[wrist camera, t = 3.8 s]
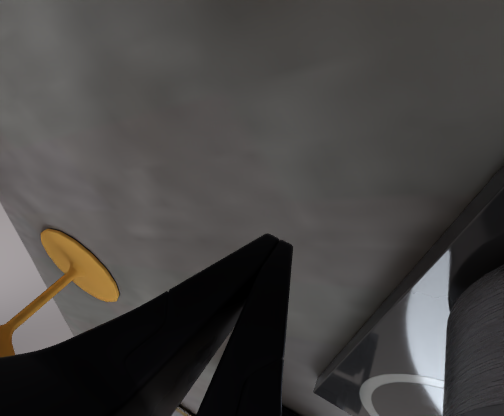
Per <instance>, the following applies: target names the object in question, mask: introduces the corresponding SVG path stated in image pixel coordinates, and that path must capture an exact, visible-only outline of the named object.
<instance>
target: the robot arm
mask: <svg viewBox="0 0 504 416" xmlns="http://www.w3.org/2000/svg"><path fill="white" fill-rule="evenodd" d="M292 253H293V246H292V245H291V244H289V243H287V242H285V241H283V240H280V241H279V239H278V238H277V237H275V236H273V235H271V234H264V235H263V236H261V237H259V238H257V239H256V240H254V241H252V242H251V243H249V244H247V245H245V246H244V247H242V248H240V249H239V250H237V251H235V252H233V253H232V254H230V255H228V256H227V257H225V258H223V259H221V260H220V261H218V262H216V263H215V264H213V265H211V266H209V267H208V268H206V269H204V270H203V271H201V272H199V273H197V274H196V275H194V276H192V277H190V278H189V279H187V280H185V281H184V282H182V283H180V284H178V285H177V286H175V287H173V288H172V289H170V290H169V293H168V292H167V291H166V292H164V293H163V294H161V295H159V296H158V297H156V298H154V299H152V300H151V301H149V302H147V303H145V304H143V305H141V306H140V307H138V308H136V309H134V310H132V311H130V312H127V313H125V314H123V315H121V316H119V317H117V318H115V319H113V320H110V321H108V322H106V323H104V324H102V325H99V326H97V327H95V328H93V329H90V330H88V331H86V332H84V333H82V334H79V335H77V336H75V337H73V338H71V339H69V340H66V341H64V342H61V343H59V344H57V345H54V346H51V347H48V348H45V349H42V350H38V351H34V352H30V353H24V354H18V355H12V356H6V357H0V416H172V414H173V413H174V411H175V410H176V409H177V407H178V406H179V404H180V403H181V401H182V400H183V399H184V397H185V396H186V394H187V393H188V391H189V390H190V389H191V387H192V386H193V384H194V383H195V381H196V380H197V379H198V377H199V376H200V374H201V373H202V372H203V370H204V369H205V367H206V366H207V364H208V363H209V362H210V360H211V359H212V357H213V356H214V354H215V353H216V352H217V350H218V349H219V347H220V346H221V344H222V343H223V342H224V340H225V339H226V337H227V336H228V335H229V333H230V332H231V330H232V329H233V327H234V326H235V327H234V329H233V332H232V334H231V336H230V339H229V341H228V343H227V346H226V348H225V350H224V352H223V355H222V357H221V359H220V362H219V364H218V366H217V369H216V371H215V373H214V375H213V378H212V380H211V382H210V385H209V387H208V389H207V392H206V394H205V396H204V398H203V401H202V403H201V405H200V408H199V410H198V412H197V415H196V416H296V415H295V414H293V413H292V412H290V411H288V410H287V409H285V408H284V407H282V379H283V366H284V360H283V358H284V352H285V339H286V327H287V315H288V302H289V290H290V278H291V265H292Z"/></svg>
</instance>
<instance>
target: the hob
mask: <svg viewBox="0 0 504 416" xmlns="http://www.w3.org/2000/svg"><path fill="white" fill-rule="evenodd" d="M502 265H504V165H503V166H502V168H501V169H500V170H499V171H498V172H497V173H496V174H495V176H494V177H493V178H492V179H491V180H490V181H489V182H488V184H487V185H486V186H485V187H484V188H483V189H482V190H481V192H480V193H479V194H478V195H477V196H476V197H475V198H474V200H473V201H472V202H471V203H470V204H469V205H468V206H467V208H466V209H465V210H464V211H463V212H462V213H461V214H460V216H459V217H458V218H457V219H456V220H455V221H454V222H453V224H452V225H451V226H450V227H449V228H448V229H447V230H446V232H445V233H444V234H443V235H442V236H441V237H440V238H439V240H438V241H437V242H436V243H435V244H434V245H433V247H432V248H431V249H430V250H429V251H428V252H427V253H426V255H425V256H424V257H423V258H422V259H421V260H420V261H419V263H418V264H417V265H416V266H415V267H414V268H413V269H412V271H411V272H410V273H409V274H408V275H407V276H406V277H405V279H404V280H403V281H402V282H401V283H400V284H399V285H398V287H397V288H396V289H395V290H394V291H393V292H392V293H391V295H390V296H389V297H388V298H387V299H386V300H385V301H384V303H383V304H382V305H381V306H380V307H379V308H378V309H377V311H376V312H375V313H374V314H373V315H372V316H371V317H370V319H369V320H368V321H367V322H366V323H365V324H364V326H363V327H362V328H361V329H360V330H359V331H358V332H357V334H356V335H355V336H354V337H353V338H352V339H351V340H350V342H349V343H348V344H347V345H346V346H345V347H344V348H343V350H342V351H341V352H340V353H339V354H338V355H337V356H336V358H335V359H334V360H333V361H332V362H331V363H330V364H329V366H328V367H327V368H326V369H325V370H324V371H323V372H322V374H321V375H320V376H319V377H318V378H317V381H316V384H315V387H314V390H313V392H314V393H315V394H317V395H319V396H320V397H322V398H324V399H325V400H327V401H329V402H330V403H332V404H334V405H335V406H337V407H339V408H340V409H342V410H344V411H345V412H347V413H349V414H350V415H352V416H443V396H444V373H445V351H446V330H447V320H448V317H449V314H450V312H451V309H452V307H453V306H454V304H455V303H456V301H457V299H458V298H459V297H460V295H461V294H462V293H463V292H464V291H465V290H466V289H467V288H468V287H469V286H470V285H471V284H473V283H474V282H476V281H477V280H478V279H480V278H481V277H483V276H484V275H485V274H487V273H489V272H491V271H493V270H494V269H496V268H498V267H500V266H502Z"/></svg>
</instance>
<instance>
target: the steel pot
mask: <svg viewBox="0 0 504 416" xmlns="http://www.w3.org/2000/svg"><path fill="white" fill-rule="evenodd" d="M443 416H504V265H502V266H500V267H498V268H496V269H494V270H493V271H491V272H489V273H487V274H485V275H484V276H483V277H481V278H480V279H478V280H477V281H476V282H474V283H473V284H471V285H470V286H469V287H468V288H467V289H466V290H465V291H464V292H463V293H462V294H461V295H460V297H459V298H458V299H457V301H456V303H455V304H454V306H453V307H452V309H451V312H450V314H449V317H448V320H447V330H446V351H445V373H444V396H443Z"/></svg>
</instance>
